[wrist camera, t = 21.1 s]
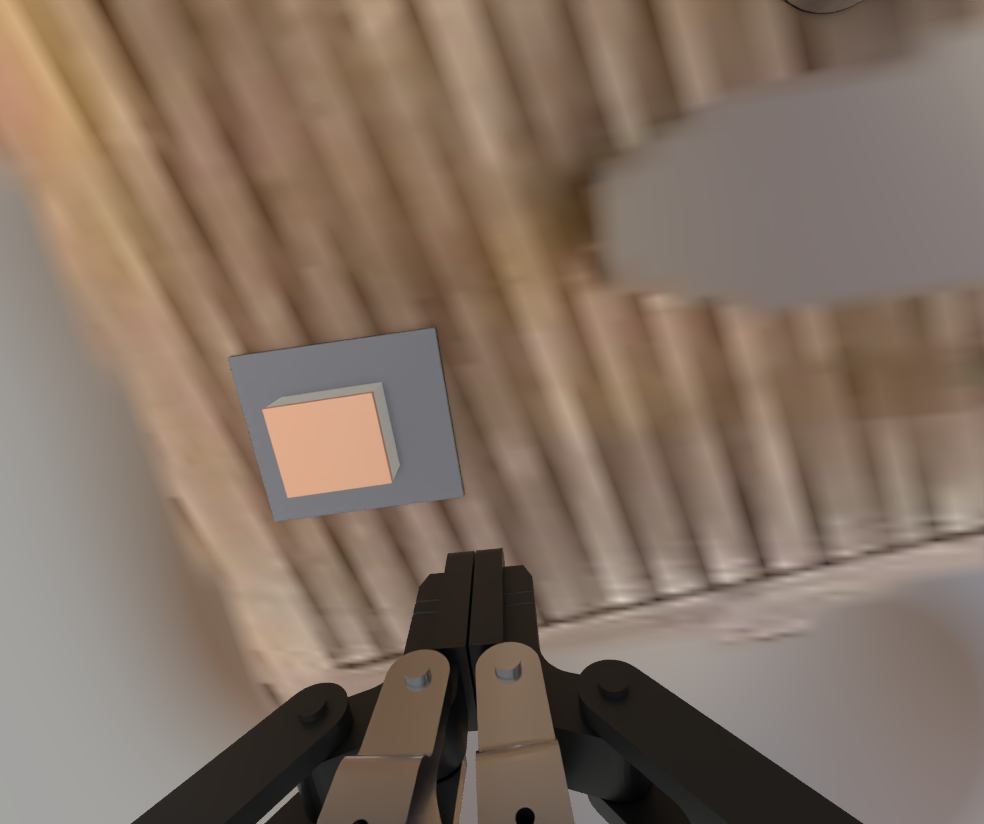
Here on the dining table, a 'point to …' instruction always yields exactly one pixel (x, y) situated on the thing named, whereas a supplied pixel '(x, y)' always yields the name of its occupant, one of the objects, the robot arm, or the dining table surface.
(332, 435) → the white block copper side
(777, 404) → the dining table surface
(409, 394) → the mat
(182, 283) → the dining table surface
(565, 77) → the dining table surface
